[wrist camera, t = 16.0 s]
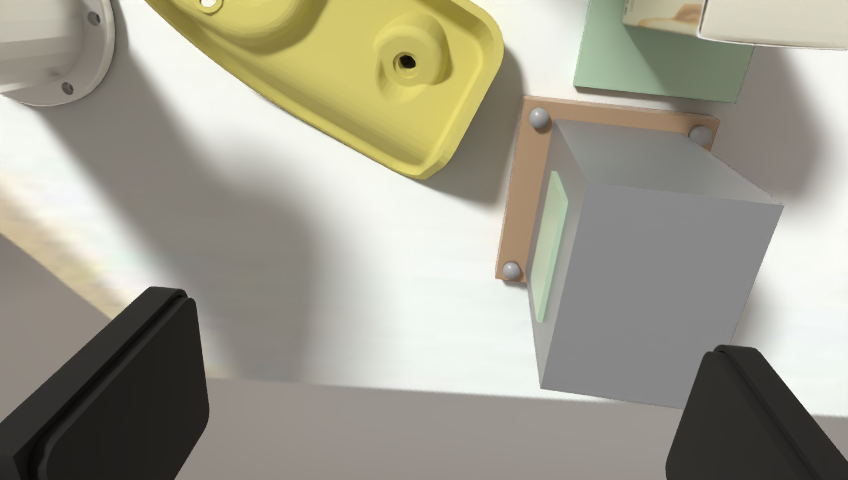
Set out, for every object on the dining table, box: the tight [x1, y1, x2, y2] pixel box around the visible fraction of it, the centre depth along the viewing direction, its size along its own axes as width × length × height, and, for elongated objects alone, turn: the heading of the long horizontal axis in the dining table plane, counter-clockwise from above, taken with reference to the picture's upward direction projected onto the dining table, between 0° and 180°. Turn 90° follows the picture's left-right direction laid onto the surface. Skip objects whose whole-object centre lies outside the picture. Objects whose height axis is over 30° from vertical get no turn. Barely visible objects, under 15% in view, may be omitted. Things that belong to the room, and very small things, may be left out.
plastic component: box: [145, 0, 504, 180], centre depth 34 cm, size 20×7×10 cm
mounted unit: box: [495, 95, 784, 409], centre depth 31 cm, size 12×13×14 cm
